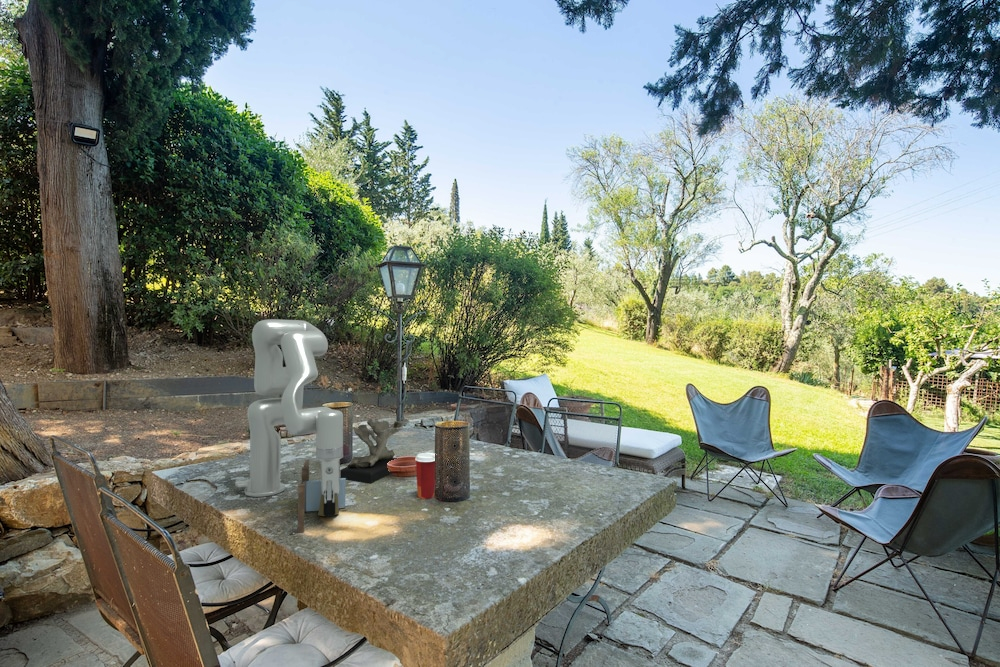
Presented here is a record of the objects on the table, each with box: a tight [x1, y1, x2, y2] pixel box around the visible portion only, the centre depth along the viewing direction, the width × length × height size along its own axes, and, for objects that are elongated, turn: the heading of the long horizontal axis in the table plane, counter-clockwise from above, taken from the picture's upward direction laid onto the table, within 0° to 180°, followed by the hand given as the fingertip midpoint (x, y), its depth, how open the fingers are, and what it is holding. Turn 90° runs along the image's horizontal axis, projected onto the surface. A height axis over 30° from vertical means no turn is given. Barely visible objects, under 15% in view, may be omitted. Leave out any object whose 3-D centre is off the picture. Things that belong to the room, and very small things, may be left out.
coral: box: [340, 418, 410, 485], centre depth 187 cm, size 25×20×22 cm
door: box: [303, 478, 347, 513], centre depth 148 cm, size 1×12×9 cm, turn 109°
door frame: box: [297, 459, 310, 534], centre depth 145 cm, size 2×27×13 cm, turn 19°
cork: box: [317, 493, 340, 517], centre depth 145 cm, size 6×6×11 cm
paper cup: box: [414, 452, 436, 500], centre depth 162 cm, size 8×8×14 cm
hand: (329, 515), depth 140 cm, fingers closed
